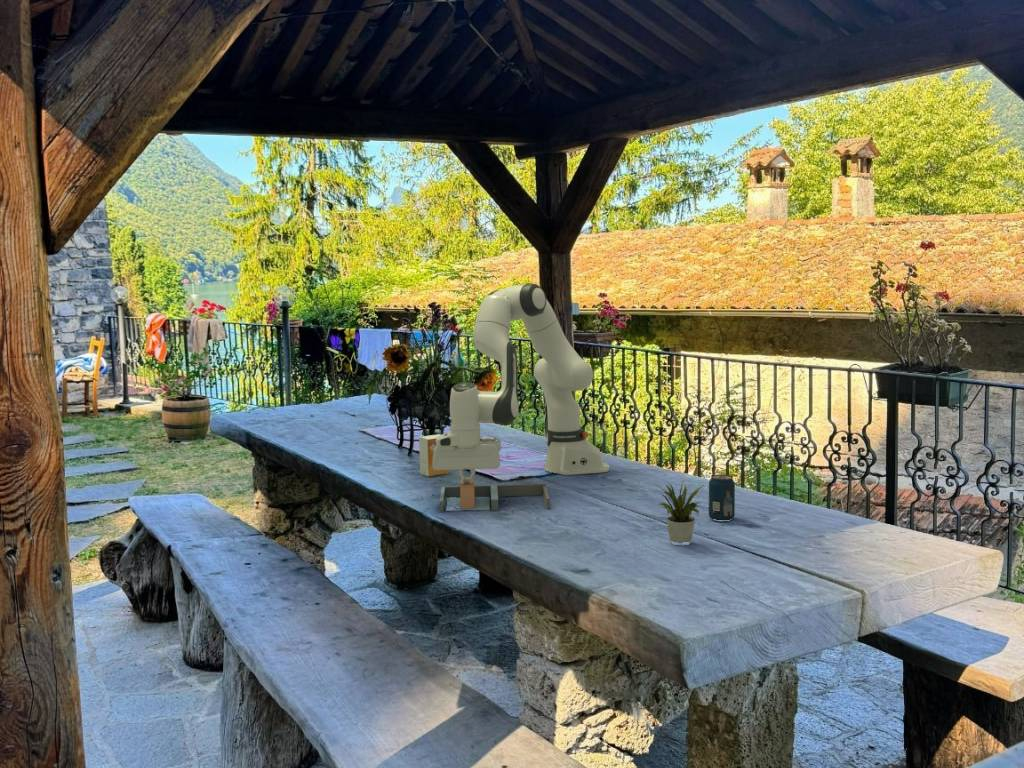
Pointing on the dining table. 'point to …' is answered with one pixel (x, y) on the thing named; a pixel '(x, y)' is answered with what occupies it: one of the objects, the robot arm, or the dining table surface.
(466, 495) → the long orange rectangular block
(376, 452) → the dining table surface
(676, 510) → the house plant
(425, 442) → the small box
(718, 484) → the soda can
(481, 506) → the gate frame with panel
